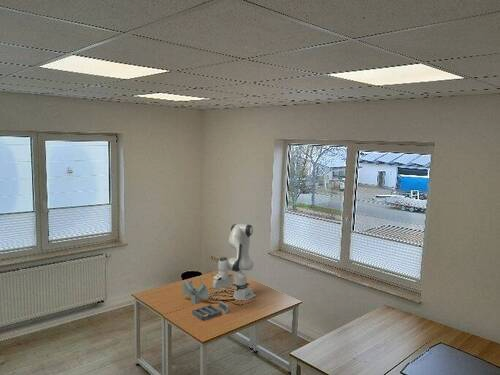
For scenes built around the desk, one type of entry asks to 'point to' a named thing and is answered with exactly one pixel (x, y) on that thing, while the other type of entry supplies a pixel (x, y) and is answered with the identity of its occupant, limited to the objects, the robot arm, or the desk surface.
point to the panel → (223, 307)
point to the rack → (206, 312)
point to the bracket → (195, 292)
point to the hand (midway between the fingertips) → (223, 291)
